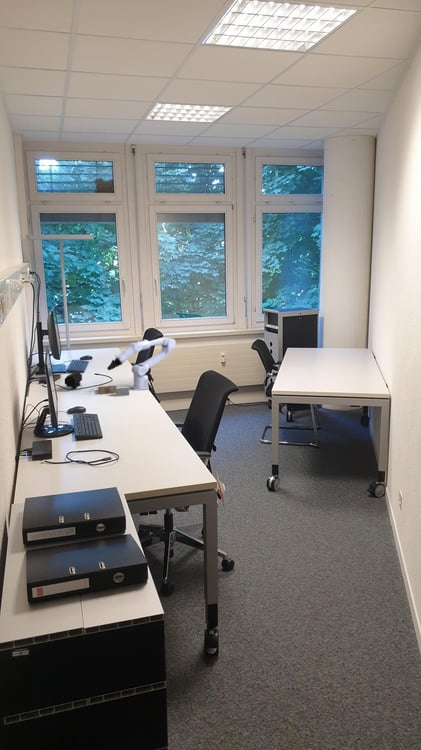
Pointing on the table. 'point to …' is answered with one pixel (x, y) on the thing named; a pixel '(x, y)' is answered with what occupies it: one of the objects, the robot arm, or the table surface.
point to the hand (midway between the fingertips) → (109, 368)
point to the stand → (107, 389)
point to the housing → (122, 391)
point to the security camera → (73, 380)
